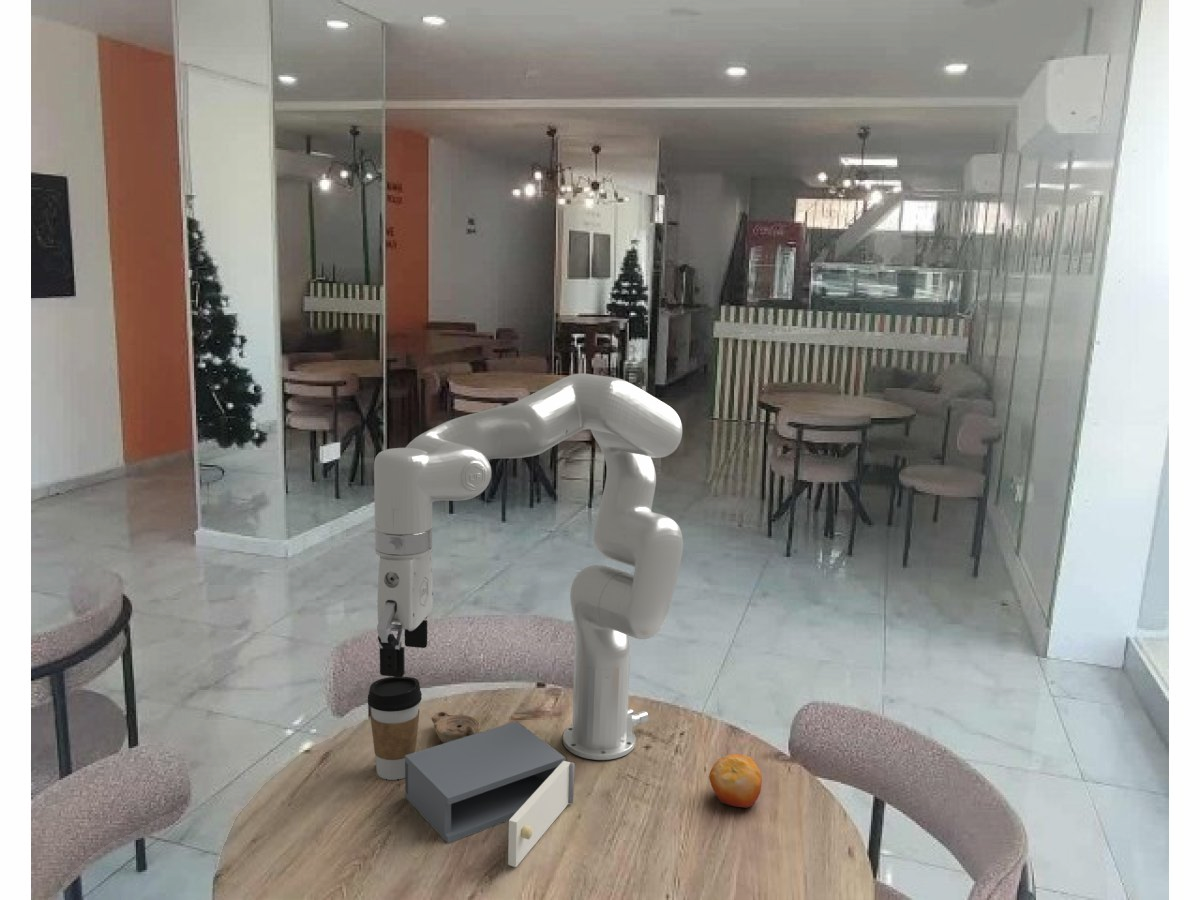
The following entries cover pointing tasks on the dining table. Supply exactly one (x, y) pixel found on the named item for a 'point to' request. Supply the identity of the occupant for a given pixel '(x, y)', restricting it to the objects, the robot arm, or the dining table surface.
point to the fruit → (736, 780)
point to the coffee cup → (394, 723)
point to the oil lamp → (454, 726)
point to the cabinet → (478, 778)
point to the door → (540, 812)
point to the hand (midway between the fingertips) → (404, 660)
